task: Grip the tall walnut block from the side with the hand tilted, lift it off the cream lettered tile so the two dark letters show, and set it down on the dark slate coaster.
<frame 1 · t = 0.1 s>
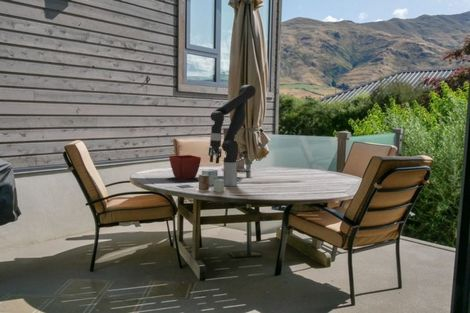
hand: (214, 162, 303), 17 cm above the table, tool pointing down, fingers open, 8 cm apart
plant pot: (184, 177, 343), on the table
light bulb box: (209, 184, 314), on the table
cookie jar: (234, 169, 398), on the table
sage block: (218, 191, 289), on the table
walnut block: (203, 189, 291), resting on lettered tile
slate coaster: (185, 187, 301), on the table
lettered tile: (203, 190, 291), on the table
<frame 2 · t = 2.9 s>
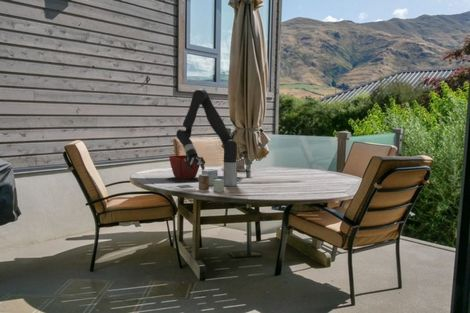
hand: (198, 169, 297), 13 cm above the table, tool tilted 45°, fingers open, 8 cm apart
nothing on the table moved.
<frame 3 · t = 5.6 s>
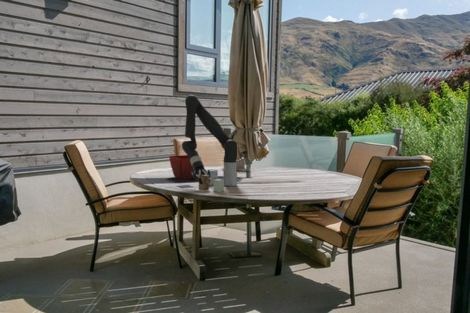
hand: (205, 183, 289), 5 cm above the table, tool tilted 45°, fingers closed on walnut block, 5 cm apart
walnut block: (203, 189, 291), resting on lettered tile, touching gripper
everything else where it was.
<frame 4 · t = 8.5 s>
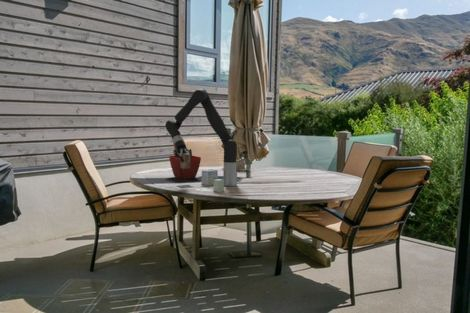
hand: (186, 161, 298), 18 cm above the table, tool tilted 45°, fingers closed on walnut block, 5 cm apart
walnut block: (185, 168, 300), point 14 cm above the table, touching gripper
everything else where it was.
when the fingers open (6 cm above the table, at t = 11.5 s): walnut block drops 1 cm, resting on slate coaster.
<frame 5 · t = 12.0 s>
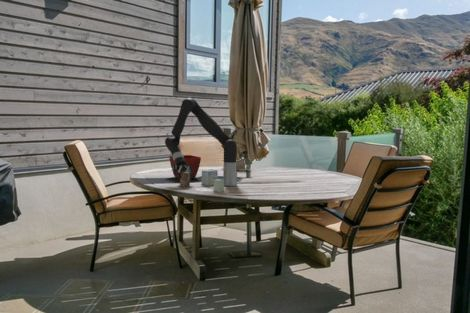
hand: (186, 177, 299), 7 cm above the table, tool tilted 45°, fingers open, 8 cm apart
walnut block: (184, 186, 301), point 1 cm above the table, touching slate coaster
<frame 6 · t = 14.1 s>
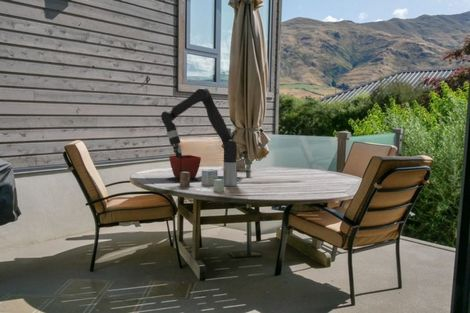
hand: (180, 158, 310), 19 cm above the table, tool tilted 25°, fingers open, 8 cm apart
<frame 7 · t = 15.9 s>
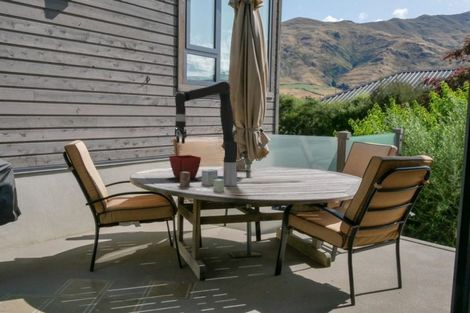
hand: (180, 143, 309), 30 cm above the table, tool pointing down, fingers open, 8 cm apart
at the end: walnut block inside the target area on the slate coaster (0.2 cm from its centre), point 0.6 cm above the slate coaster's base; walnut block tilted 0°; walnut block touching slate coaster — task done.
